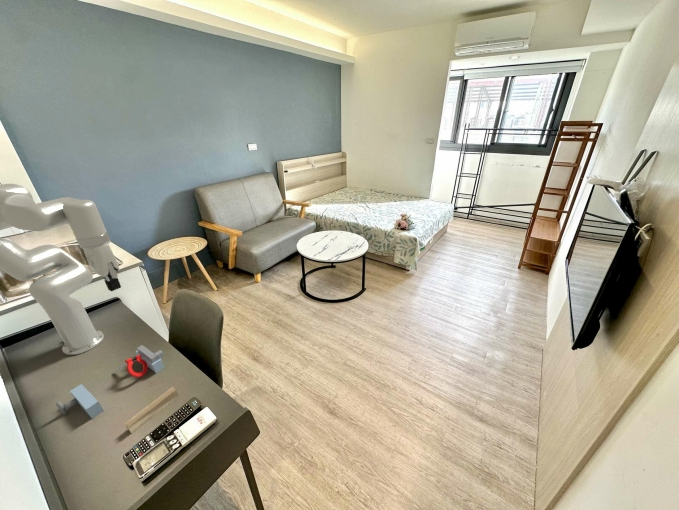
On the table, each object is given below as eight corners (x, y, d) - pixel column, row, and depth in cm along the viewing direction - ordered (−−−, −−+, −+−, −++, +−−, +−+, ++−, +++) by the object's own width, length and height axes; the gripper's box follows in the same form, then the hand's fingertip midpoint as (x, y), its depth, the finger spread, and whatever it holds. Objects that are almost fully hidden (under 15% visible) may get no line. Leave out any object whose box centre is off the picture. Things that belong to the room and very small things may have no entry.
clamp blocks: (59, 410, 85) (50, 397, 82) (151, 352, 106) (146, 340, 103) (75, 430, 79) (66, 417, 76) (169, 365, 100) (164, 352, 98)
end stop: (128, 429, 79) (124, 423, 78) (174, 392, 90) (172, 386, 89) (131, 433, 79) (128, 427, 77) (178, 395, 89) (176, 389, 88)
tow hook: (134, 379, 91) (124, 359, 92) (112, 393, 93) (103, 374, 94) (151, 371, 98) (142, 353, 99) (131, 384, 99) (122, 367, 100)
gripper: (69, 239, 86) (92, 287, 94) (89, 249, 79) (112, 301, 87) (97, 231, 92) (117, 278, 100) (118, 240, 85) (138, 289, 93)
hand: (115, 288), depth 94 cm, fingers closed
